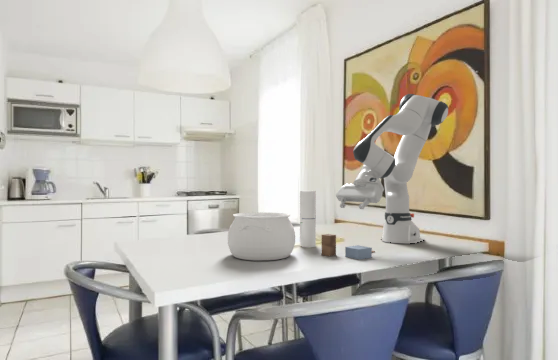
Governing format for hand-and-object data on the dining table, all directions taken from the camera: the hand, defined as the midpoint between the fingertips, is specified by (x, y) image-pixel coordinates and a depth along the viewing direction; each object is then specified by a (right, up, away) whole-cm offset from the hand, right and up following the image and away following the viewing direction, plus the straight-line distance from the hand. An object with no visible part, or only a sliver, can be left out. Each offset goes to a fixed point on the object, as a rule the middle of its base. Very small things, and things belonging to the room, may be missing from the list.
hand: (351, 207), depth 156 cm
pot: (-37, -18, -9) cm, 42 cm away
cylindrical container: (-17, -19, +14) cm, 29 cm away
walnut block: (-10, -18, -7) cm, 22 cm away
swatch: (+6, -18, 0) cm, 19 cm away
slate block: (+1, -18, -11) cm, 22 cm away
